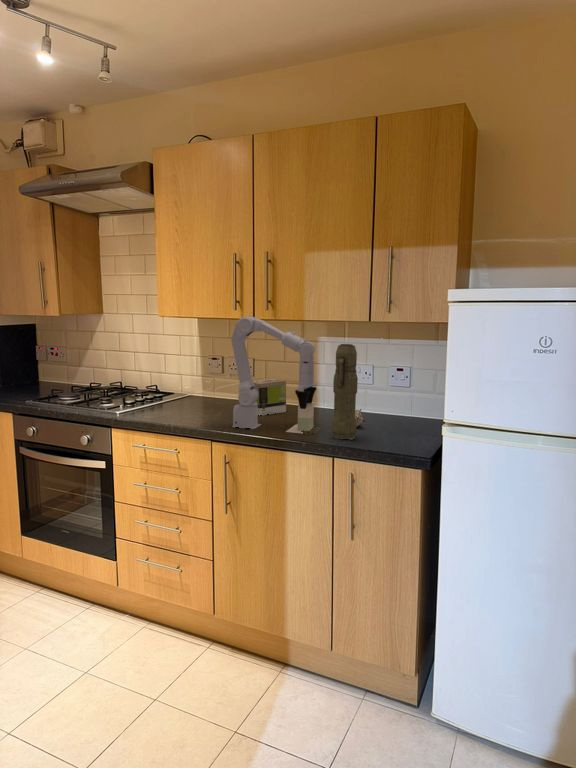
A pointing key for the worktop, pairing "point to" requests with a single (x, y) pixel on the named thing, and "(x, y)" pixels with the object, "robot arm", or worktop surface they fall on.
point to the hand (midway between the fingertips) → (305, 406)
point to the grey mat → (294, 429)
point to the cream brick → (306, 411)
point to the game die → (358, 417)
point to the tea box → (271, 396)
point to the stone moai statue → (345, 392)
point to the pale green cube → (305, 424)
